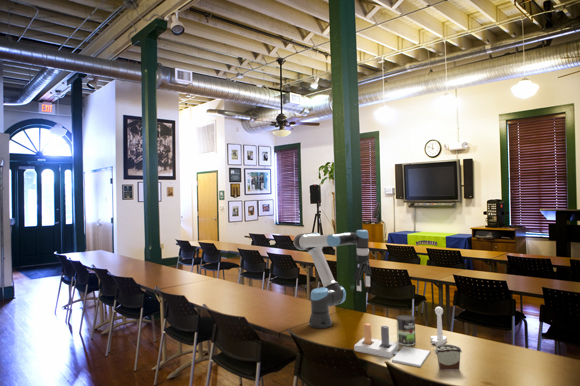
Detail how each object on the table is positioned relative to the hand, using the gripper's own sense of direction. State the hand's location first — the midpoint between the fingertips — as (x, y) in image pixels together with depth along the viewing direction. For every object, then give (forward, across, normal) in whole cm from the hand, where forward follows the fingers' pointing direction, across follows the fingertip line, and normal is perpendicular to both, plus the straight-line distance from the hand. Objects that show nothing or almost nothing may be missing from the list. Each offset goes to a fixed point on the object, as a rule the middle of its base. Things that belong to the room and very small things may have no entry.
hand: (363, 288), depth 243 cm
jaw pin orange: (+26, -27, -14) cm, 40 cm away
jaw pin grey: (+26, -26, -24) cm, 44 cm away
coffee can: (+26, -8, -29) cm, 40 cm away
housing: (+26, -26, -19) cm, 41 cm away
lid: (+25, -27, -37) cm, 52 cm away
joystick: (+26, +2, -44) cm, 51 cm away
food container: (+25, -30, -56) cm, 68 cm away
